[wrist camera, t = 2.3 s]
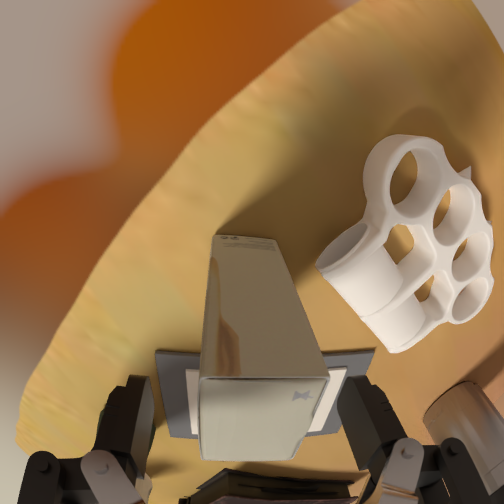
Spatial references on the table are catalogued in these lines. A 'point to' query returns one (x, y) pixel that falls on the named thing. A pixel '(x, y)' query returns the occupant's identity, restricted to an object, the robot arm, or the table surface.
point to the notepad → (187, 377)
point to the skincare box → (255, 356)
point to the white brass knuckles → (423, 253)
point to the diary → (269, 490)
